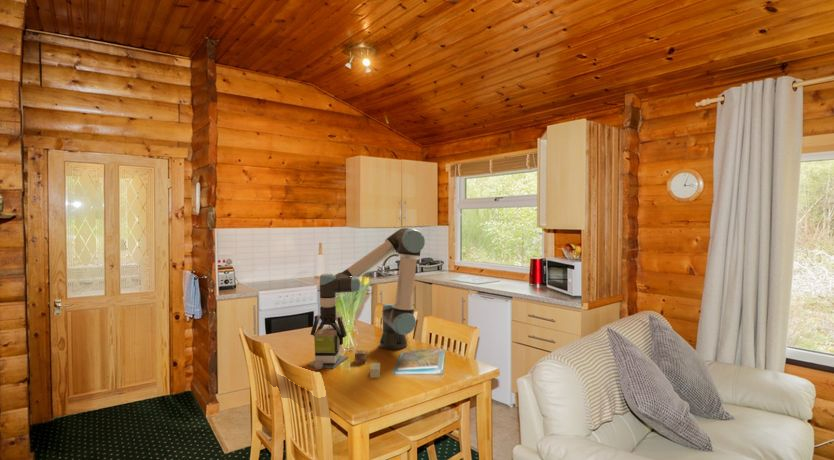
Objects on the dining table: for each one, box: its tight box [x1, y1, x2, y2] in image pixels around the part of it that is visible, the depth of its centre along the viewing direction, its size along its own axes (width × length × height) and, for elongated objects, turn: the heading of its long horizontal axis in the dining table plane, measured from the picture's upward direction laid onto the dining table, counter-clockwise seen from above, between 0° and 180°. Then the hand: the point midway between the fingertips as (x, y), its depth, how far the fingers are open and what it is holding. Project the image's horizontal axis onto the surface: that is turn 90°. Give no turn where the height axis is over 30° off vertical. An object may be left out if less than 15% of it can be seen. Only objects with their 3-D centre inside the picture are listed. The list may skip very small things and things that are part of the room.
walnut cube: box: [354, 349, 368, 365], centre depth 227 cm, size 5×5×5 cm
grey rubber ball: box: [313, 361, 323, 370], centre depth 216 cm, size 4×4×4 cm
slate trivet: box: [308, 355, 349, 370], centre depth 227 cm, size 13×16×1 cm
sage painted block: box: [369, 362, 381, 379], centre depth 210 cm, size 4×8×4 cm, turn 2°
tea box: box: [313, 324, 343, 363], centre depth 226 cm, size 15×10×15 cm, turn 177°
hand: (328, 350), depth 226 cm, fingers closed on tea box, 11 cm apart
